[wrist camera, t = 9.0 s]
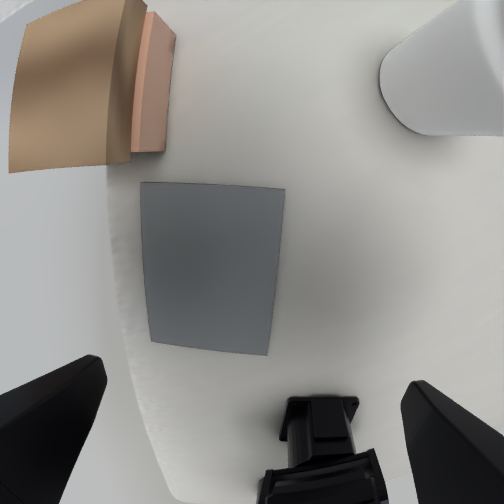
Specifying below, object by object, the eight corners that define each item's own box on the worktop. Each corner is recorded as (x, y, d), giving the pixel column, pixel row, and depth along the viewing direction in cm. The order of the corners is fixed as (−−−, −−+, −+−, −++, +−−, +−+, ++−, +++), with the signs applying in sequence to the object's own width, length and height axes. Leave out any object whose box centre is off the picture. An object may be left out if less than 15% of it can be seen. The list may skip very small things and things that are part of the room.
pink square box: (165, 151, 17) (138, 151, 13) (67, 155, 17) (31, 160, 14) (176, 35, 14) (154, 11, 11) (76, 53, 15) (44, 41, 11)
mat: (267, 352, 21) (267, 355, 21) (152, 338, 22) (151, 341, 21) (284, 189, 17) (285, 190, 17) (142, 182, 18) (140, 182, 17)
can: (358, 60, 14) (462, -31, 3) (429, 38, 13) (541, -21, 2) (405, 150, 16) (552, 167, 5) (469, 119, 15) (602, 122, 3)
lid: (130, 161, 13) (105, 165, 11) (36, 168, 14) (8, 173, 11) (147, 5, 11) (128, -14, 8) (50, 33, 11) (26, 24, 8)
